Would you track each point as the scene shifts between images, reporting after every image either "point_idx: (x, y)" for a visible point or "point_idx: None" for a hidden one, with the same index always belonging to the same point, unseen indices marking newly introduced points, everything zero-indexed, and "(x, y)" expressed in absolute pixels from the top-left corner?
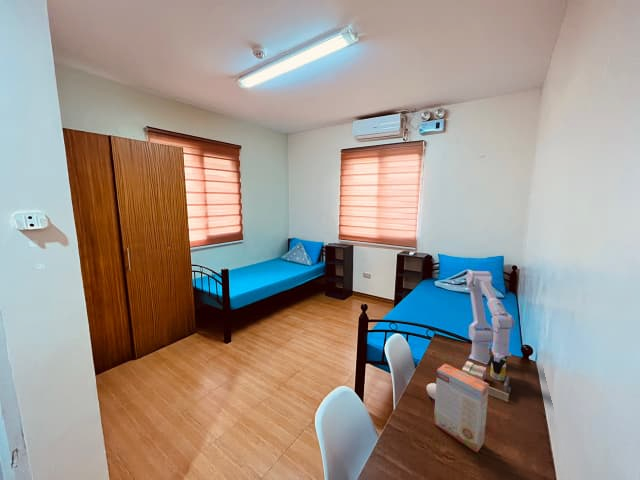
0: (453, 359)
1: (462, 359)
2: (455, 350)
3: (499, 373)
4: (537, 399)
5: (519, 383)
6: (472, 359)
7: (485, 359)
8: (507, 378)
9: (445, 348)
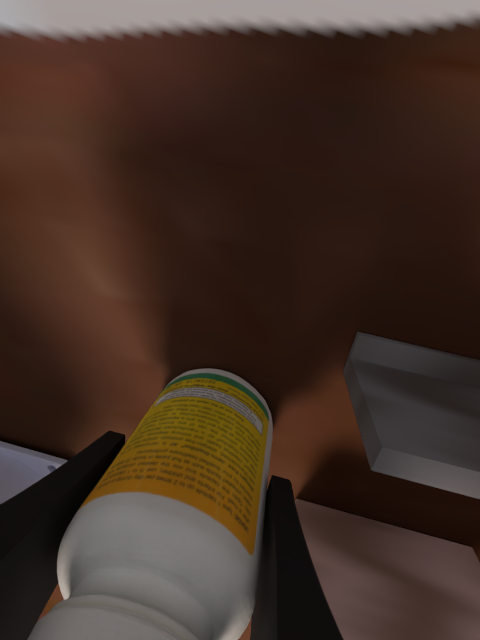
0: None
1: None
2: None
3: (290, 491)
4: (476, 61)
5: (206, 239)
6: None
7: (22, 489)
8: (470, 480)
9: None
